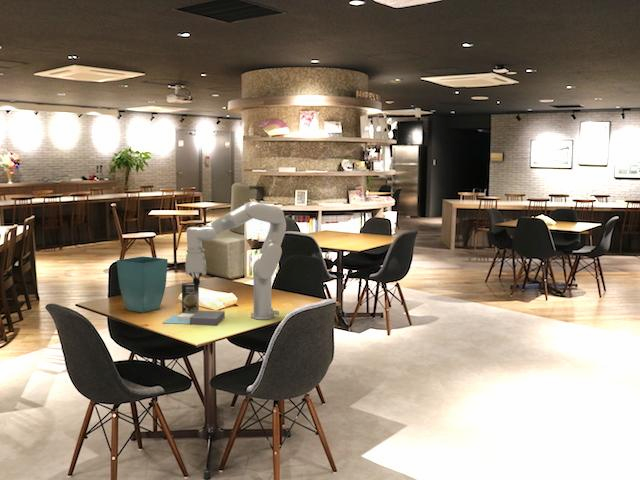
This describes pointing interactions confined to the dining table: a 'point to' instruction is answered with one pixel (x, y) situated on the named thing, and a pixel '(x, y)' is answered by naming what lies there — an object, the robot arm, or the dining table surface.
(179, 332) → the dining table surface
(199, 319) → the board
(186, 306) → the coffee box
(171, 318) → the mat
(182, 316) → the tile
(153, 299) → the flower pot
